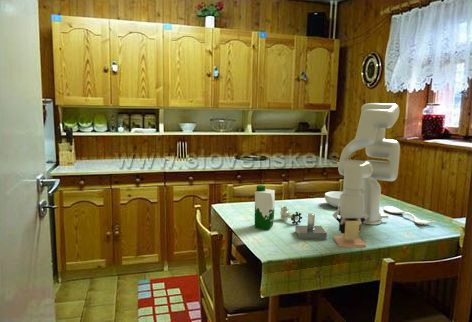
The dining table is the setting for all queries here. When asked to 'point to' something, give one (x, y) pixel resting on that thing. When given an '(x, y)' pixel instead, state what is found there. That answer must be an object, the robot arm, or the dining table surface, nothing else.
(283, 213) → the valve
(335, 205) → the cereal bowl
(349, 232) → the sleeve
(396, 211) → the spoon
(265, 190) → the milk carton
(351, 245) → the tile
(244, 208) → the dining table surface
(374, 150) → the robot arm
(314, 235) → the grey base with post
